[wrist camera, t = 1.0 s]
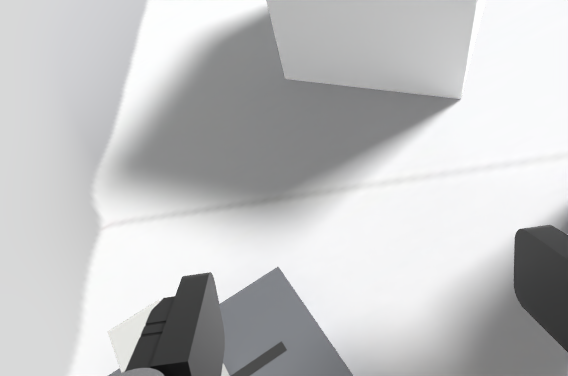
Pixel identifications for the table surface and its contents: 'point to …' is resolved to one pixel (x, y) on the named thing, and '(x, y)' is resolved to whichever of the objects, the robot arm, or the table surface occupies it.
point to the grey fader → (133, 337)
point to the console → (274, 333)
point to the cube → (378, 43)
